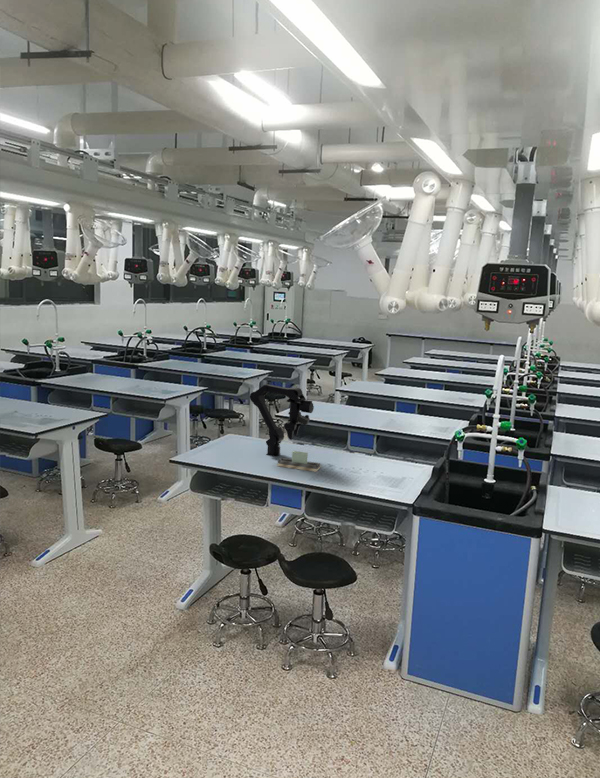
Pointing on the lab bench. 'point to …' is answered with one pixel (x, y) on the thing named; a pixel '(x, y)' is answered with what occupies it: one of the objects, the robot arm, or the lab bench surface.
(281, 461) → the track
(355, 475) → the lab bench surface
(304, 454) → the door panel
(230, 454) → the lab bench surface
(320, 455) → the lab bench surface
